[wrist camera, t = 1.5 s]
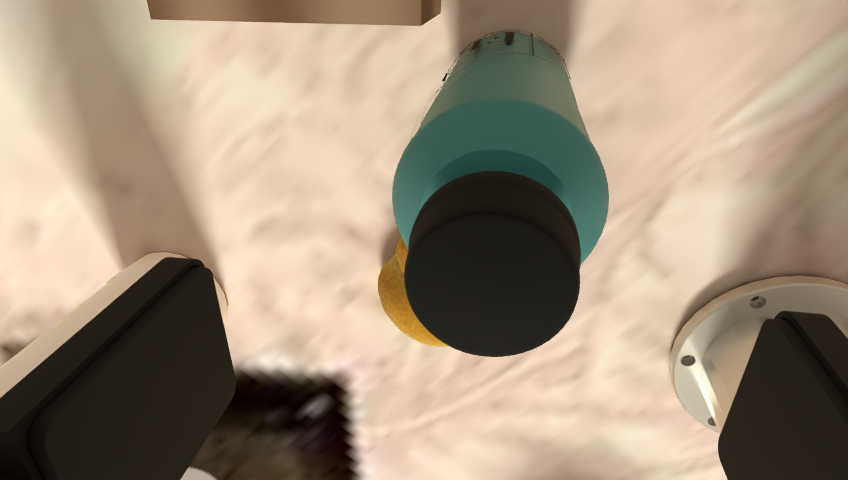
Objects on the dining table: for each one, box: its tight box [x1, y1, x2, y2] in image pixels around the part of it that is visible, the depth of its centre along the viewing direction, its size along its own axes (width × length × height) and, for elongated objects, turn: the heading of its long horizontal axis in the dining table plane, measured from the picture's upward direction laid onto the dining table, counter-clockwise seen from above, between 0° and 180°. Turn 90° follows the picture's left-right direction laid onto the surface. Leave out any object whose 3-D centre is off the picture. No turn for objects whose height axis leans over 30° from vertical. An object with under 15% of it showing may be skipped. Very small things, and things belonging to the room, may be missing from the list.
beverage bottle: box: [392, 30, 609, 357], centre depth 20 cm, size 6×7×20 cm
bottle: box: [0, 252, 228, 398], centre depth 26 cm, size 8×8×30 cm
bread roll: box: [378, 237, 448, 347], centre depth 33 cm, size 8×9×4 cm
